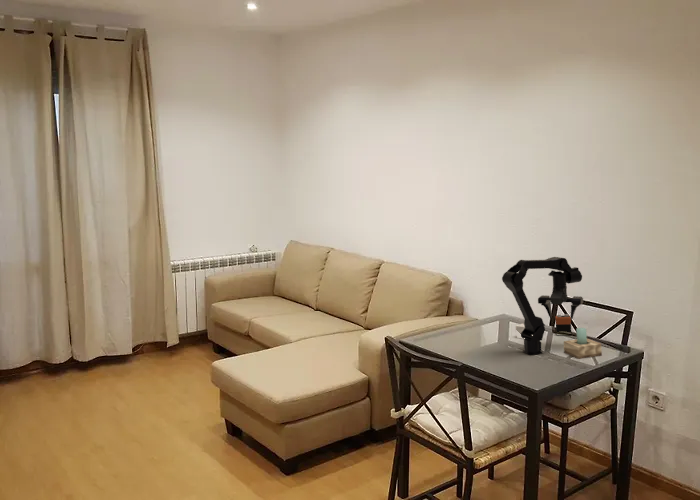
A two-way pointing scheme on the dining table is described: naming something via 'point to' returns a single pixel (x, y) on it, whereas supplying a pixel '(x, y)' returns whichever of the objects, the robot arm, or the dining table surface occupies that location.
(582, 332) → the peg
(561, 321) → the battery
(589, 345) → the bore block
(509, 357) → the dining table surface
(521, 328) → the light grey cone
